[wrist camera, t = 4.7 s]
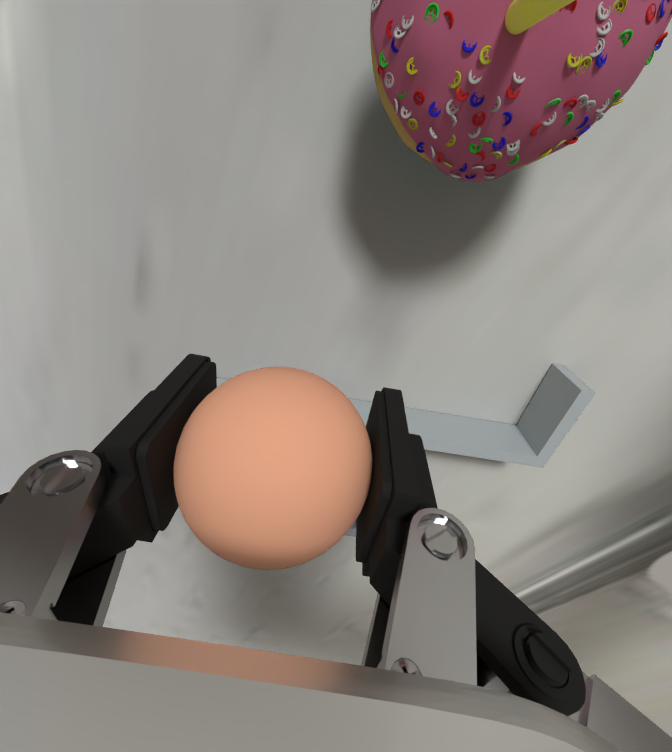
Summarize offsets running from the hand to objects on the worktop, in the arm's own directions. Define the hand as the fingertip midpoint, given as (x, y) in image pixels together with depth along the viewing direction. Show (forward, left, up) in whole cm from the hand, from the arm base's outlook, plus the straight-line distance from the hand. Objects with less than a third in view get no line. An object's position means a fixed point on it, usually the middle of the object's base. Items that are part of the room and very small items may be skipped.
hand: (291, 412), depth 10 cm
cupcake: (-5, -12, -10) cm, 16 cm away
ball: (0, 0, -1) cm, 1 cm away
